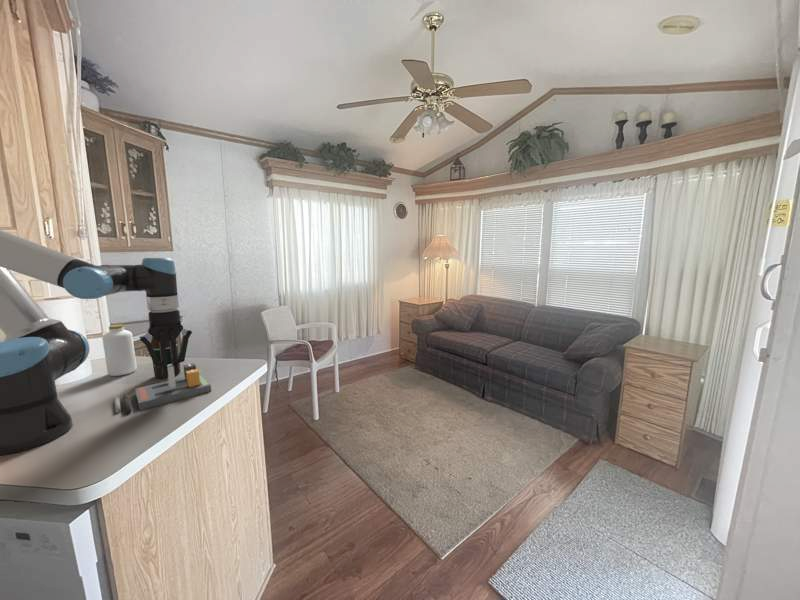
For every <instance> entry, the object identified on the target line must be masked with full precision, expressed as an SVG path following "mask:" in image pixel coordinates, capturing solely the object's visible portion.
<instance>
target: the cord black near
mask: <svg viewBox="0 0 800 600" xmlns="http://www.w3.org/2000/svg"><path fill="white" fill-rule="evenodd" d="M122 403H123V405H122V406H123V411H124V414H125V415H130V414H131V413H132V409H131V407H132V406H131V402H130V397H129V396H128V395H123V396H122Z"/></svg>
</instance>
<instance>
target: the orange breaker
mask: <svg viewBox="0 0 800 600" xmlns="http://www.w3.org/2000/svg"><path fill="white" fill-rule="evenodd" d="M199 374H200V372H199V370H198V369H197V368H196V369H194V370H189V371H186V378H187V385H188V386H189V387H192V386H196V385H200V378H199Z"/></svg>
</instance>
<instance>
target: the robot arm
mask: <svg viewBox="0 0 800 600" xmlns="http://www.w3.org/2000/svg"><path fill="white" fill-rule="evenodd" d="M141 261H142V262H141V264H101V265H95V264H93V263H90V262H87V261H85V260H81V259H79V258H77V257H74V256H72V255H69V254H66V253H64V252H61V251H58V250H56V249H53V248H50V247H46V246H44V245H41V244H39V243H37V242H33V241H32V240H29V239H26V238H23V237H20V236H18V235H15V234H12V233H9V232H7V231H4V230H2V229H0V330H1V331H2V332H3V333H4V335H5V339H4V340H3V341H1V342H0V456H3V455H8V454H13V453H17V452H22V451H25V450H28V449H32V448H35V447H38V446H41V445H43V444H46V443H48V442H51V441H53V440H55V439H57V438H59V437H61V436H63V435H64V434H66V433H67V432H69V431H70V430H71V429H72V427H73V419H72V416H71V414H70V413H69V411H68V410H67V409H66V407H65V406H64V405H63V403H62V402H61V401H60V399H59V397H58V392H57V391H58V390H57V385H56V381H57V379H59V378H61V377H63V376H65V375H67V374H69V373H71V372H73V371H75V370H76V369H78V368H79V367H80V366H81V365H82V364H83V363H85V361H86V360H87V358H88V356H89V353H90V344H89V341H88V339H87V338H86V336H84V335H83V334H82V333H80V332H78V331H76V330H72V329H68V328H67V327H66V325H65V323H63V322H62V320H61V319H59V320H58V319H53V318H51V317H49V316H48V314H46V313H45V311H44V310H43V309H42V308H41V306H40V305H39V304H38V303H37V302H36V300H35V299H34V298H33V297H32V296H31V295H30V293H29V292H28V291H27V289H26V288H25V287H24V286H23V285H22V283H21V282H20V281H19V280H18V279H17V278H16V276H15V275H14V274H13V272H15V273H18V274H21V275H23V276H24V275H25V276H27V277H30V278H33V279H36V280H39V281H42V282H44V283H48V284H51V285H53V286H56V287H59V288H62V289H65V291H66V292H67V293H68V294H70V296H72V297H74V298H77V299H80V300H82V299H83V300H95V299H99V298H100V299H101V298H102V297H105V296H109V295H114V294H118V293H122V292H123V293H125V292H144V291H145V296H146V305H147V311H149V312H148V313H147V314H148V323H149V326H148V329H147V332H146V333H144V334H143V335H140V336H139V340H140V341H141V342H142V343H143V344H144V345H145V347H146V350H147V352H148V354H149V356H150V358H151V361H152V364H153V363H154V365H155V366H156V367H162V372H163V376H164V379H166V378H165V377H168V378H167V381H168V386H169V387H170V388H173V387H176V384H175V379H176V376H175V375H177V376H178V375H179V374H180V373H179V372H178V364H179V363H180V364H181V363H183V362H185V360H186V355H187V349H188V343H189V339H190V337H191V335H192V334H193V331H192V330H191V329H187V328H185V327H184V326H183V324H182V322H181V314H180V312H181V311H180V309H179V307H180V304H179V294H178V285H177V271H176V267H175V262H174V259H173V258H170V257H145V258H144V257H143V258H142V260H141ZM180 334H181V335H182V338H181V344H180V348H179V352H178V353H179V358H177V350H176V340H177V339H178V337H179V335H180ZM153 337H154V338H155V339H156V340H157V341H159V346H160V355H161V362H159V361H158V359H157V356H156V354H155V352H154V350H153V348H152V345H151V340H152V338H153ZM165 341H169V342H170V350H171V359H172V364H170V365H167V355H166V346H165V345H166V344H165ZM178 373H179V374H178Z"/></svg>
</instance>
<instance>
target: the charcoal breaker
mask: <svg viewBox="0 0 800 600" xmlns="http://www.w3.org/2000/svg"><path fill="white" fill-rule="evenodd" d="M194 369H197V366H196V364H195V363H193V362H192V363H188V364H183V373H184V377H185V379H186V380H187V378H186V371H189V370H194Z"/></svg>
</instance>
